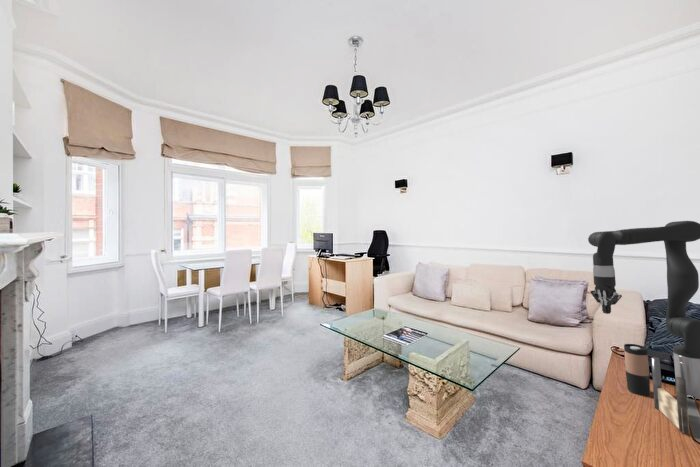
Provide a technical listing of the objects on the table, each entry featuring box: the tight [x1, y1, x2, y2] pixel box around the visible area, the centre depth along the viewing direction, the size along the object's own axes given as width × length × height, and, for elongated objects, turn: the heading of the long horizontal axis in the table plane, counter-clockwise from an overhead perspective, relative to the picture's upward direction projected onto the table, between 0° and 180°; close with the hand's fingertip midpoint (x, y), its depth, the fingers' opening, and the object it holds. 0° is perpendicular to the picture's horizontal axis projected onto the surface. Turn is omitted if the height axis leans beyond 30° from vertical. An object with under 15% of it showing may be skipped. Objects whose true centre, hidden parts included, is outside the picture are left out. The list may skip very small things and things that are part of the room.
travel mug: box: [623, 343, 651, 397], centre depth 130 cm, size 8×8×20 cm
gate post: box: [650, 356, 663, 411], centre depth 118 cm, size 2×2×20 cm
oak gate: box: [658, 376, 691, 435], centre depth 109 cm, size 15×2×18 cm, turn 156°
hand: (606, 313), depth 133 cm, fingers closed
